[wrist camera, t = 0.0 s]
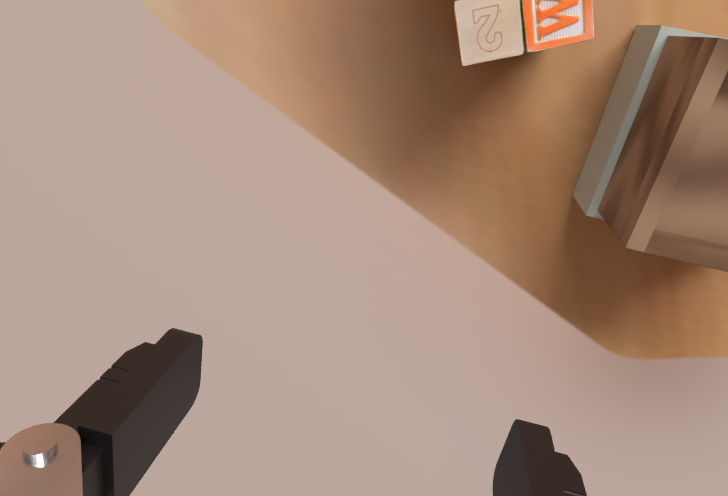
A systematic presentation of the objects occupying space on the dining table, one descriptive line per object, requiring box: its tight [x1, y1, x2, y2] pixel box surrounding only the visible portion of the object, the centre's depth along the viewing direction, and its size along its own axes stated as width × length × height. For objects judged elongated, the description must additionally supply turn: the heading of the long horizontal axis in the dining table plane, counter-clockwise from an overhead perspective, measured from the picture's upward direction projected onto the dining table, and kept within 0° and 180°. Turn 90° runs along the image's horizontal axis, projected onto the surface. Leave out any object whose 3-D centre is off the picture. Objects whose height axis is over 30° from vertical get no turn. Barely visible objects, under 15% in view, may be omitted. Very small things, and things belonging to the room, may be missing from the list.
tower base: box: [573, 25, 728, 220], centre depth 34 cm, size 12×12×5 cm
